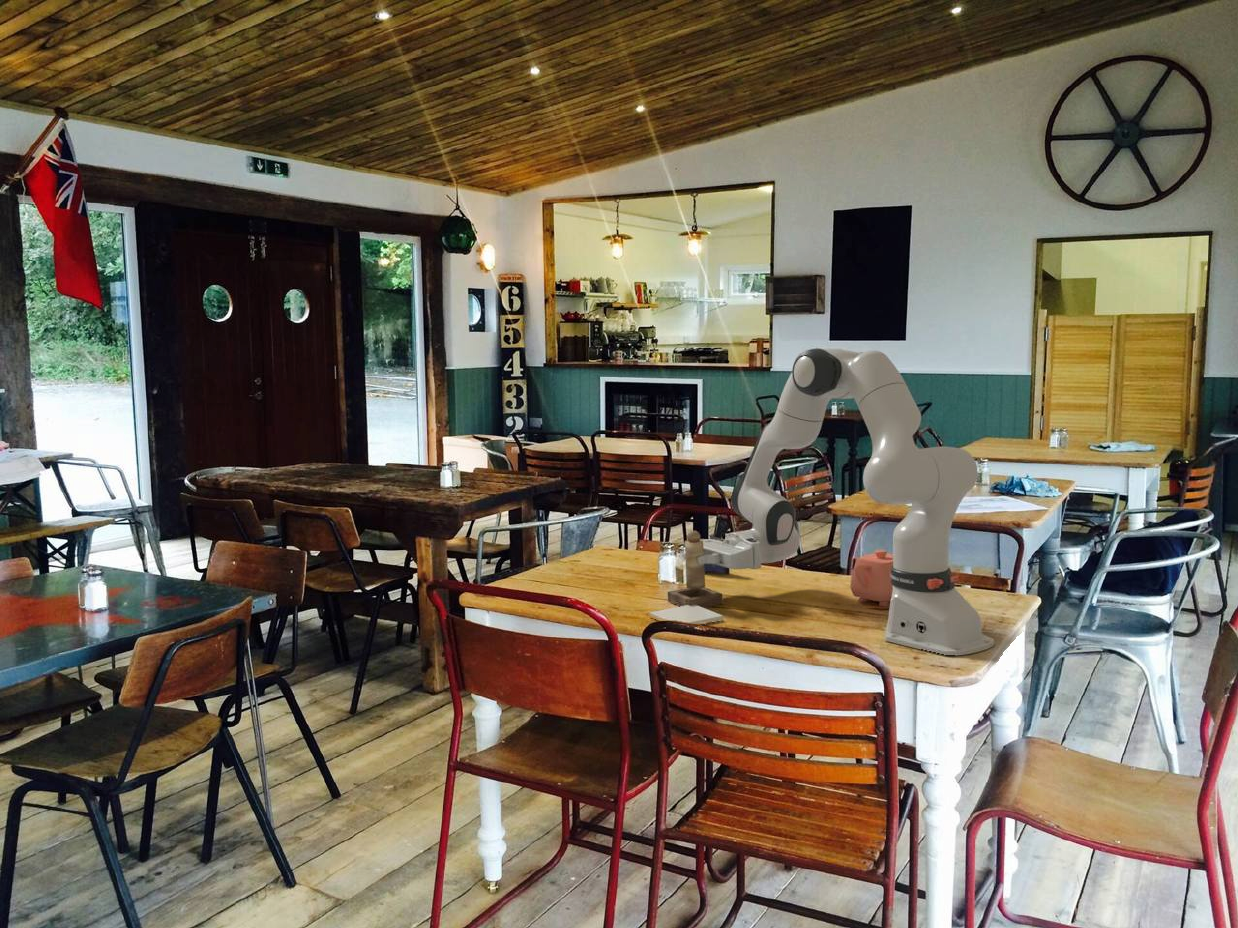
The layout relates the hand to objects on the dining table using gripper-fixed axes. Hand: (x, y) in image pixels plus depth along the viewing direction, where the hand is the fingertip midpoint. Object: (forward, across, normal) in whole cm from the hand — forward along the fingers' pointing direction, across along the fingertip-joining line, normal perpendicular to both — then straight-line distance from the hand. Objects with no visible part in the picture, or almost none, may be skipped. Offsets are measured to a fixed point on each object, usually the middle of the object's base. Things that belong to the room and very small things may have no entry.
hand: (691, 558), depth 244 cm
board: (+8, +9, +11) cm, 17 cm away
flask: (-21, -23, +11) cm, 33 cm away
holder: (-1, -1, +11) cm, 11 cm away
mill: (-1, 0, +7) cm, 7 cm away
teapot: (-38, +24, +12) cm, 46 cm away
